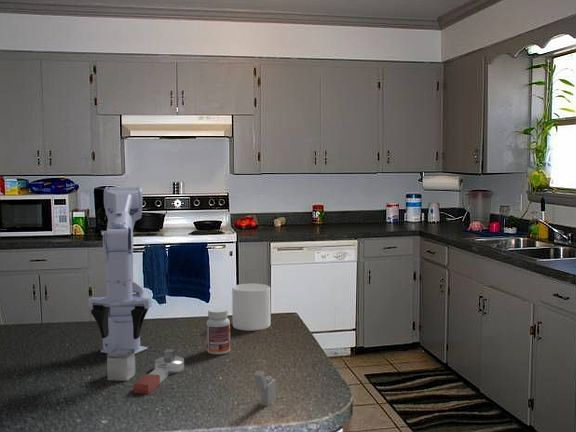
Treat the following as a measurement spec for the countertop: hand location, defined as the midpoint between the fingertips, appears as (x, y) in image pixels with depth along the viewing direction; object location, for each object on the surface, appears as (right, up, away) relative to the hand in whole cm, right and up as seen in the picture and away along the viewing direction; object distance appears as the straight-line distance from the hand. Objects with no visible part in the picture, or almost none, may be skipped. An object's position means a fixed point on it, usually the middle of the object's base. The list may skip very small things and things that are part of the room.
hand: (120, 337), depth 138 cm
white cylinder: (+28, -6, +45) cm, 53 cm away
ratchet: (+9, -9, 0) cm, 13 cm away
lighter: (+34, -11, -15) cm, 39 cm away
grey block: (0, -9, +1) cm, 9 cm away
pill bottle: (+21, -8, +19) cm, 29 cm away
